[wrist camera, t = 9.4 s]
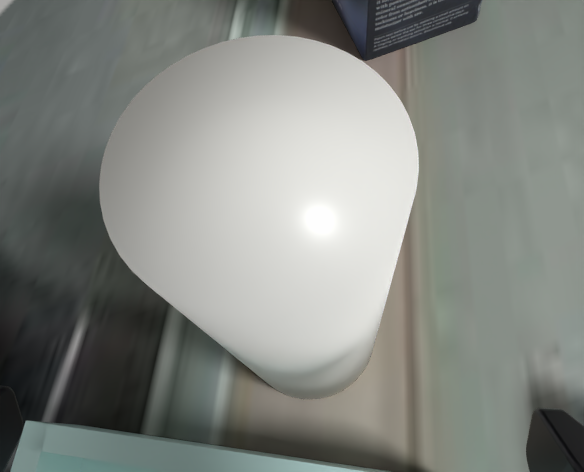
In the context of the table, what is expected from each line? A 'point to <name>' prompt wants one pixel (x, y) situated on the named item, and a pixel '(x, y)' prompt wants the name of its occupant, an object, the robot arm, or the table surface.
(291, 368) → the white tapered cylinder
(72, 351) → the table surface
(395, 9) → the small box
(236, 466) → the tote
